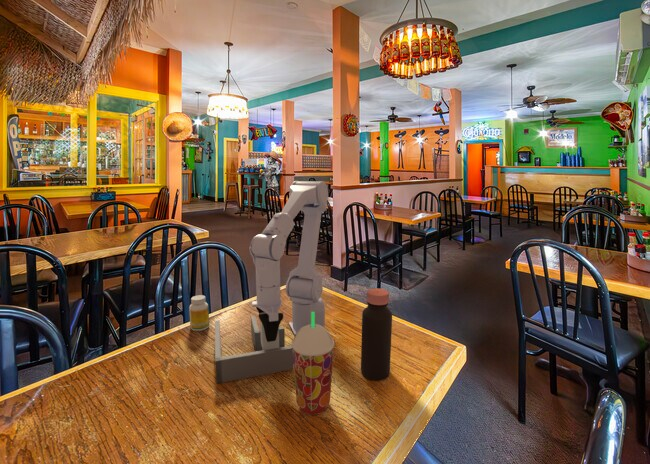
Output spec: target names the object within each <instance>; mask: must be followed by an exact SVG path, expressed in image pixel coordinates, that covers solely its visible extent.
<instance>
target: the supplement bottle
mask: <svg viewBox="0 0 650 464" xmlns="http://www.w3.org/2000/svg"><path fill="white" fill-rule="evenodd" d="M188 310H189V311H188V312H189V325H190V329H191V330H192V331H194V332H201V331H204V330H207V329H208V328H209V327H210V316H209V315H210V312H209V304H208V303H207V301H206V296H205V295H203V294H199V295H194V296H192V297H191V298H190V305H189V307H188Z"/></svg>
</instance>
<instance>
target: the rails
mask: <svg viewBox="0 0 650 464" xmlns="http://www.w3.org/2000/svg"><path fill="white" fill-rule="evenodd" d="M220 324H221V323H220V320H215V321H214V360H215V362H214V363H215V376H216V377H215V378H216V381H215V382H216V384H222V383H226V382H232V381H238V380H244V379H248V378H254V377H258V376H259V377H260V376H264V375H269V374H270V375H271V374H275V373H280V372H285V371H291V370H294V365H293V352H292V345H287V346H286V344H285V343H286V341H285V338H286V337H285V333H286V332H285V327H284V326H279V348H274V349H268V350H263V349H262V345H261V335H260V329H259V328H260V327H259V326H258V322H257V318H256V316H255V315H251V316H250V332H251V333H250V334H251V338H252V342H253V346H254V350H255V351H251V352H244V353H239V354H233V355H226V356H222V347H221V346H222V345H221V343H222V341H221V325H220Z"/></svg>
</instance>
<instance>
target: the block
mask: <svg viewBox="0 0 650 464" xmlns="http://www.w3.org/2000/svg"><path fill="white" fill-rule="evenodd" d="M260 314H265V312H264V313H260ZM259 326H260V327H259V328H260V329H259V330H260V335H261V345H262V349H263V350H268V349H274V348H279V328H278V333H277V338H276V341H271V342H267V340H266V336H265V331H264V326H263V324H262V322H261V321H260V320H259Z"/></svg>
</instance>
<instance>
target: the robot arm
mask: <svg viewBox="0 0 650 464" xmlns="http://www.w3.org/2000/svg"><path fill="white" fill-rule="evenodd" d="M328 199H329V190H328V185H327V184H326V182H325V181H324V180H321V181H320V180H319V181H313V180H312V181H307V180H306V181H305V180H302V181H301V180H300V181H299V180H293V182H292V183H291V185H290V186H289V197H288V199H287V201H286V203H285V205H284V207H283V208H282V210H281V212H277V213H275V214H274V215H273V216H272V218H271V219H270V221H269V223H267V224H266V226H265V227H264V229H263V230H262V232H261V233H259V234H257V235H255V236H254V237H253V238H252V240H251V242H250V246H249V249H248V250H249V253H250V256H251V258H252V263H253V265H254V267H255V288H256V291H255V293H256V300H254V301H251V307H253V308H256V310H257V312H258V319H259V322H260V321H261V322H262V324H263V326H264V331H265V336H266V340H267V342H271V341H276V338H277V333H278V328H279V327H280V325H281V322H282V321H283V320H284V313H283V312H279V311H280V310H281V309H280V308H281V306H282V298H281V258H282V257H283V256H284V252H285V247H286V245H287V239H288V237H289V235H290V233H291V232H292V231H293V229H294V226H295V221H294V219H295V218H296V217H297V215H298V214H299V213H300V211H301V212H303V214H304V218H303V225H302V226H303V227H302V231H301V241H300V248H299V254H298V261H297V267H295V268H294V269H292V270H291V271H290V272H289V274H288V275H289V276H288V278H287V281H286V283H285V293H286V295H287V296H288V297H289V301H291V304H292V305H291V306H292V307H291V310H292V311H291V313H292V314H291V315H292V318H291V319H292V321H289V322H288V325H289V327H290V329H291V330H292V331H291V332H292V333H293V335H294V336H296V334H297V333H298V331H299V330H300V329H301V328H302V327H304V326H305V325H308V324H311V312H315V324H318V325H321V326H323V327H324V328H325V327H326V325H325V324H326V321H325V318H326V316H325V314H326V311H325V310H326V308H325V302H324V299H323V298H322V295H323V289H324V288H323V275H322V274H321V273H320V272H319V271H318V269H316V259H317V251H318V250H317V249H318V245H319V244H318V243H319V236H320V235H319V234H320V228H321V227H320V226H321V219H322V214H323V213H324V212H326V211H327V207H328ZM264 312H265V314H260V313H264ZM325 329H326V328H325Z"/></svg>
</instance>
